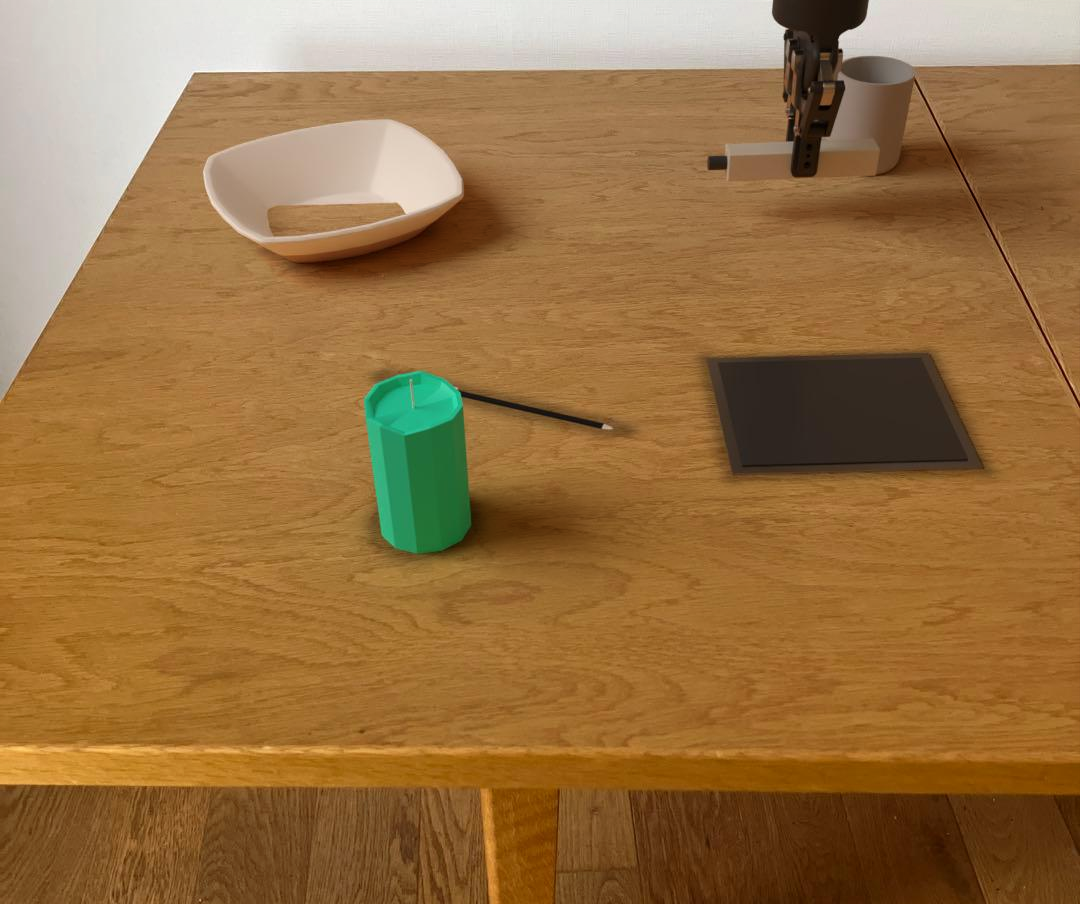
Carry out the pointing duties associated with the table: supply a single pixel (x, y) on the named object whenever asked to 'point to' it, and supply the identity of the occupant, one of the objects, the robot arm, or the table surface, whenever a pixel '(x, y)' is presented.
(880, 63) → the cup
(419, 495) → the candle
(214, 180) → the bowl
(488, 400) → the black pencil
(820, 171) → the stylus
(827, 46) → the robot arm
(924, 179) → the table surface
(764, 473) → the tablet
